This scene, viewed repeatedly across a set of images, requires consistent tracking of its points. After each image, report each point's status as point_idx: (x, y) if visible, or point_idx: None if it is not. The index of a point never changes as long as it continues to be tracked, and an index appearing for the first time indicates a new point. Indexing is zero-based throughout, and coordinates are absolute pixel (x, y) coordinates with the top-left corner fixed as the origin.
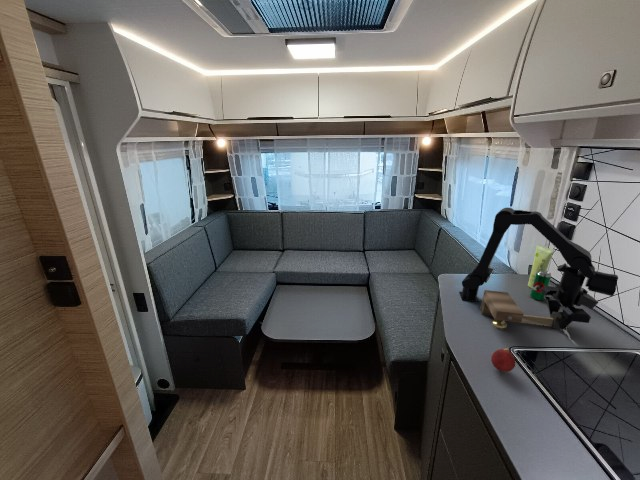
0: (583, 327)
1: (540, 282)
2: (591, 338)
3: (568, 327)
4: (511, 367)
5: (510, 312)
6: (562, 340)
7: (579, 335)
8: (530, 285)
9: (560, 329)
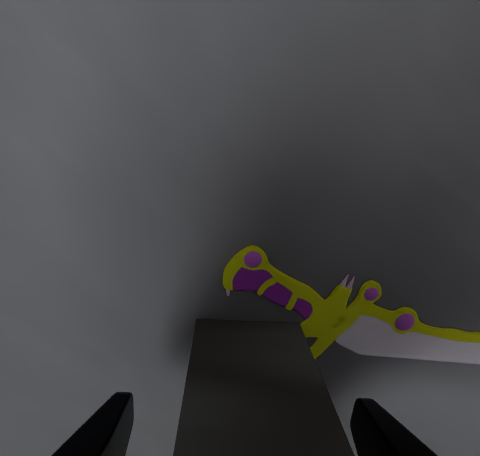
0: (215, 15)
1: None
2: (474, 91)
3: (259, 258)
4: None
5: None
6: (474, 423)
7: (408, 213)
8: None
9: None
